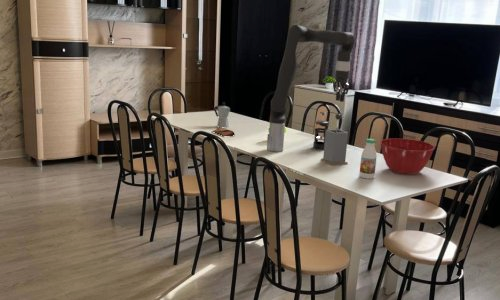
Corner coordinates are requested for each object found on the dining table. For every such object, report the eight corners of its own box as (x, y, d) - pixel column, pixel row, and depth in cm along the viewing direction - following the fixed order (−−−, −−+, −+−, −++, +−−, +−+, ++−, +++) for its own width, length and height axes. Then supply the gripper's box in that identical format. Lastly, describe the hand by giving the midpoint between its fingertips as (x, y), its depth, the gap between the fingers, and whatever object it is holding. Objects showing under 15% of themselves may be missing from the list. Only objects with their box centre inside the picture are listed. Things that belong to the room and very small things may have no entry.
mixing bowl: (406, 181, 262) (409, 151, 258) (366, 167, 285) (369, 140, 282) (442, 175, 277) (446, 147, 273) (401, 162, 300) (404, 136, 297)
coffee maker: (233, 127, 376) (234, 103, 371) (226, 129, 368) (227, 104, 364) (216, 124, 383) (217, 100, 379) (209, 126, 376) (210, 101, 372)
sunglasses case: (209, 131, 355) (214, 123, 356) (217, 136, 360) (221, 127, 360) (224, 137, 341) (229, 128, 342) (231, 141, 346) (236, 132, 347)
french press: (317, 150, 319) (320, 113, 313) (308, 146, 327) (311, 111, 321) (332, 149, 324) (336, 113, 319) (323, 145, 332) (326, 110, 327)
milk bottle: (357, 174, 269) (361, 137, 264) (371, 175, 270) (375, 138, 265) (361, 179, 262) (365, 140, 257) (376, 179, 262) (380, 141, 258)
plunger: (334, 140, 285) (336, 114, 281) (328, 138, 290) (330, 112, 287) (344, 140, 287) (346, 114, 284) (337, 137, 293) (340, 112, 290)
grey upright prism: (330, 165, 285) (333, 133, 281) (320, 160, 295) (323, 129, 290) (347, 164, 289) (350, 132, 285) (336, 159, 299) (339, 129, 295)
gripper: (329, 68, 285) (327, 99, 289) (344, 70, 272) (341, 103, 276) (341, 68, 287) (338, 99, 292) (355, 71, 275) (352, 102, 279)
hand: (339, 100), depth 284 cm, fingers open, 3 cm apart
